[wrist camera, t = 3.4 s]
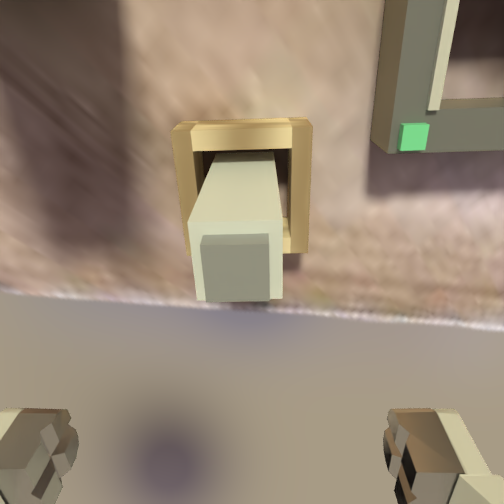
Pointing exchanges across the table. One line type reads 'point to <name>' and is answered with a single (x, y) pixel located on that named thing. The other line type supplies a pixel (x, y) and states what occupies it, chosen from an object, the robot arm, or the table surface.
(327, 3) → the table surface
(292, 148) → the holster
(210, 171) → the plug
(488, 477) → the robot arm
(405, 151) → the frame
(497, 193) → the table surface
